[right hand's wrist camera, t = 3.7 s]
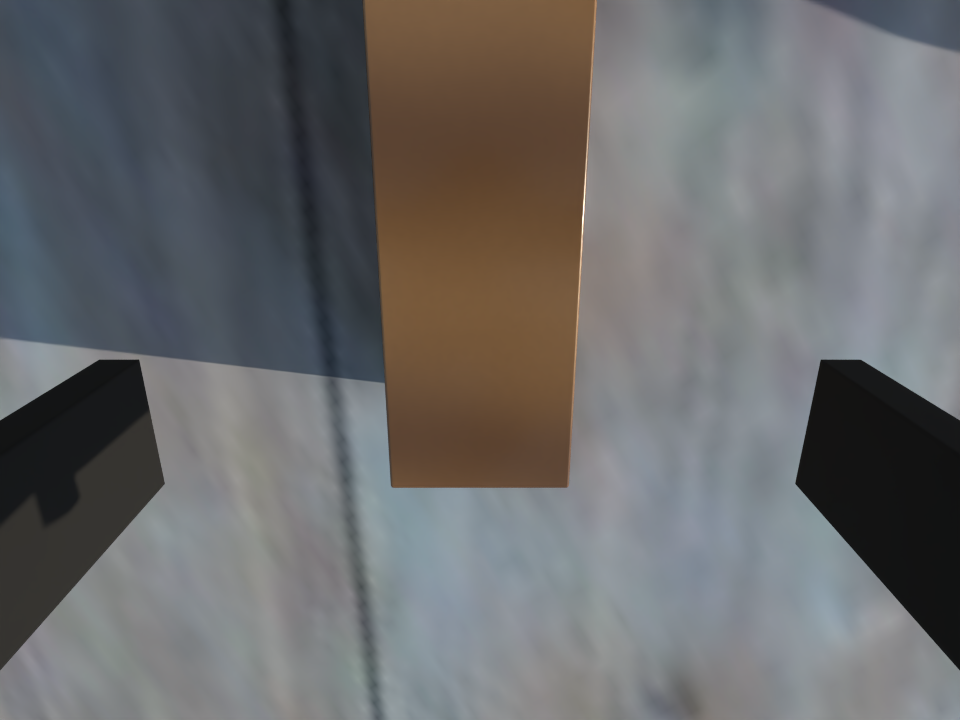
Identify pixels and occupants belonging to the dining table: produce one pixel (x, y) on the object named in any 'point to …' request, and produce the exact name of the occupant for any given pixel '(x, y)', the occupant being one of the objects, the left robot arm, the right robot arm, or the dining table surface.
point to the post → (479, 232)
